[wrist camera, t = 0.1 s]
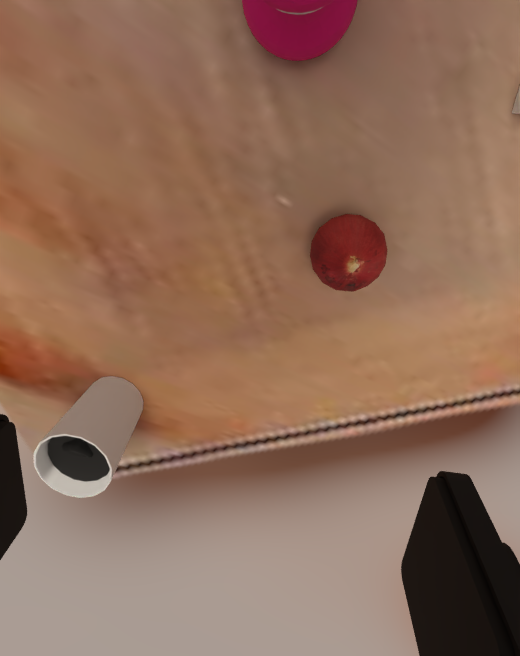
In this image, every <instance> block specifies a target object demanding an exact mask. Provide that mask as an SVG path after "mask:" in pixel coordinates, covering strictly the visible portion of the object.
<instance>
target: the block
mask: <svg viewBox="0 0 520 656" xmlns="http://www.w3.org/2000/svg"><path fill="white" fill-rule="evenodd" d="M512 113H514V114H520V86H519V90H518V93H517V96H516V100H515V103H514V107H513V110H512Z"/></svg>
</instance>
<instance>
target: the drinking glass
mask: <svg viewBox="0 0 520 656" xmlns="http://www.w3.org/2000/svg"><path fill="white" fill-rule="evenodd" d="M143 402H144V401H143V399H142V396H141V393H140V391H139V390H138V389H137V388H136V387H135V386H134V385H133V384H132V383H130V382H129V381H127V380H125V379H123V378H119V377H114V376H109V377H102V378H100V379H98V380H97V381H95V382H94V383H93V384H92V385H91V386H90V387H89V388H88V389H87V390H86V392H85V393H84V394H83V395H82V396H81V397H80V398H79V399H78V400H77V402H76V403H75V404H74V405H73V406H72V407H71V408H70V409H69V410H68V412H67V413H66V414H65V415H64V416H63V417H62V418H61V419H60V420H59V422H58V423H57V424H56V425H55V426H54V427H53V428H52V429H51V430H50V432H49V433H48V434H47V435H46V436H45V437H44V438H43V439H42V440H41V442H40V443H39V444H38V446H37V448H36V450H35V452H34V466H35V468H36V470H37V472H38V474H39V476H40V478H41V479H42V480H43V481H44V482H45V483H46V484H47V485H49V487H51V488H52V489H54V490H56V491H58V492H60V493H62V494H64V495H68V496H73V497H78V498H82V497H91V496H95V495H97V494H99V493H100V492H102V491H104V490H105V489H106V487H107V486H108V484H109V483H110V481H111V480H112V477H113V475H114V473H115V471H116V469H117V466H118V464H119V462H120V460H121V457H122V455H123V453H124V451H125V449H126V446H127V444H128V442H129V440H130V437H131V435H132V433H133V431H134V429H135V426H136V424H137V422H138V420H139V417H140V415H141V413H142V411H143Z"/></svg>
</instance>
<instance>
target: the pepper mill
mask: <svg viewBox="0 0 520 656" xmlns="http://www.w3.org/2000/svg"><path fill="white" fill-rule="evenodd" d="M242 3H243V9H244V15H245V17H246V20H247V23H248V26H249V28H250V30H251V32H252V34H253V35H254V37H255V38H256V39H257V41H258V42H259V43H260V44H261V45H262V46H263V47H264V48H265V49H266V50H267V51H269V52H271V53H272V54H274V55H276V56H278V57H280V58H283V59H287V60H292V61H302V60H308V59H312V58H315V57H317V56H320V55H321V54H323V53H325V52H327V51H328V50H329V49H330V48H332V47H333V46H334V45H335V44H336V43H337V42H338V41H339V40H340V39H341V38H342V36H343V35H344V33H345V32H346V30H347V29H348V27H349V25H350V23H351V21H352V18H353V15H354V12H355V9H356V6H357V0H242Z"/></svg>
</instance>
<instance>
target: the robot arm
mask: <svg viewBox="0 0 520 656" xmlns="http://www.w3.org/2000/svg"><path fill="white" fill-rule="evenodd" d="M26 516H27V505H26V499H25V491H24V484H23V478H22V470H21V464H20V457H19V449H18V442H17V435H16V428H15V425H14V424H13V423H12V422H9V419H8V417H7V416H6V415H2V414H0V560H1V558H2V557H3V555H4V554H5V552H6V551H7V549H8V548H9V546H10V545H11V543H12V542H13V540H14V539H15V538H16V536H17V535H18V533H19V531H20V530H21V528H22V527H23V525H24V523H25V520H26ZM401 568H402V569H401V572H402V581H403V585H404V589H405V594H406V598H407V602H408V607H409V611H410V616H411V620H412V624H413V628H414V633H415V637H416V642H417V646H418V651H419V655H420V656H520V564H519V562H518V560H517V558H516V556H515V554H514V553H513V551H512V550H511V548H510V547H509V546H508V545H507V544H505V543H502V542H501V540H500V538H499V535H498V533H497V532H496V529H495V527H494V525H493V523H492V521H491V519H490V517H489V515H488V513H487V511H486V509H485V507H484V504H483V502H482V500H481V498H480V496H479V494H478V492H477V490H476V488H475V486H474V484H473V482H472V480H471V478H470V477H469V476H468V475H467V474H461V473H453V472H445V471H440V472H439V473H438V474H437V477H430V478H429V480H428V482H427V486H426V489H425V492H424V495H423V498H422V501H421V504H420V507H419V510H418V514H417V517H416V520H415V523H414V526H413V529H412V532H411V535H410V538H409V542H408V544H407V548H406V551H405V554H404V557H403V560H402V566H401Z"/></svg>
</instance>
